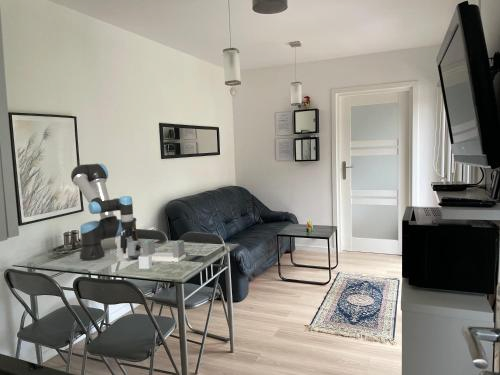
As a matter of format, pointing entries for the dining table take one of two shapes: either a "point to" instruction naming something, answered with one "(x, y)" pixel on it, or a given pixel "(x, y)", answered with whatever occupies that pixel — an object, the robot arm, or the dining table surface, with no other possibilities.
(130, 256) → the circuit breaker
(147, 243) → the rail plate
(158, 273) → the dining table surface
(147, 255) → the block
